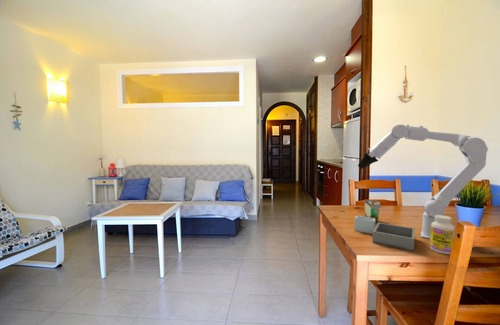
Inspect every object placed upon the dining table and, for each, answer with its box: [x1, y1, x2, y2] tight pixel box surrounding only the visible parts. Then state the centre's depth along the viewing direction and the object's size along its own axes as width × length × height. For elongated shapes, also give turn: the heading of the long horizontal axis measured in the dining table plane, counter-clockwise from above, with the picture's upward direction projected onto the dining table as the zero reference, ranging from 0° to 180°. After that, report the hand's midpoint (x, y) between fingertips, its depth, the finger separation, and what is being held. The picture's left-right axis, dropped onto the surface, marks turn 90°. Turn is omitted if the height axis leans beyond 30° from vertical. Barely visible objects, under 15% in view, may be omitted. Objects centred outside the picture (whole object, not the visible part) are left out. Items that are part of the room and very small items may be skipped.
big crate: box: [372, 222, 416, 252], centre depth 95 cm, size 14×15×4 cm
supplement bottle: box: [429, 214, 455, 255], centre depth 85 cm, size 7×7×13 cm
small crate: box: [353, 215, 376, 235], centre depth 107 cm, size 8×5×6 cm, turn 54°
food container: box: [363, 199, 382, 224], centre depth 121 cm, size 12×6×10 cm, turn 168°
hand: (360, 166), depth 114 cm, fingers open, 7 cm apart
